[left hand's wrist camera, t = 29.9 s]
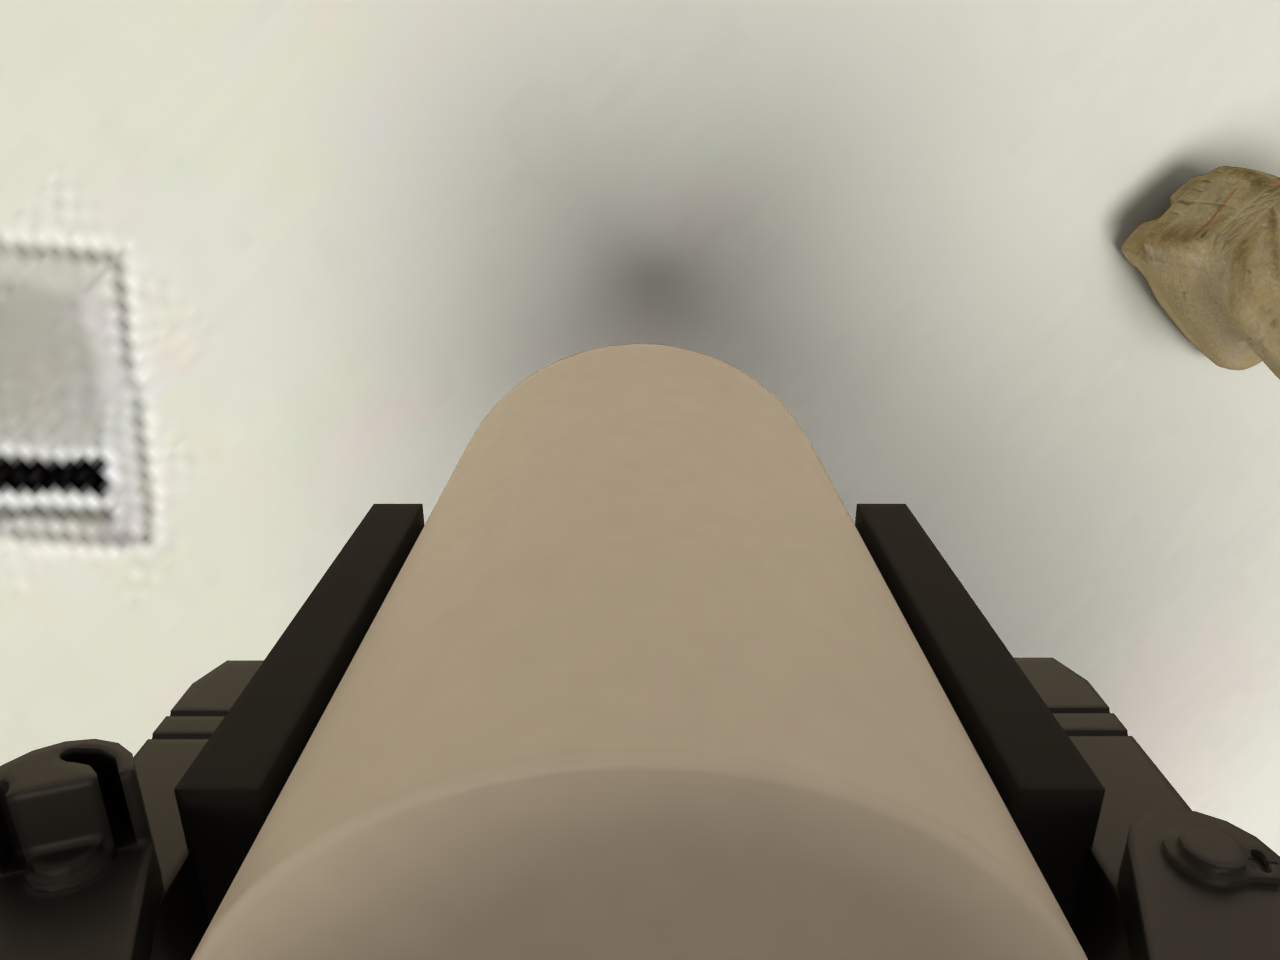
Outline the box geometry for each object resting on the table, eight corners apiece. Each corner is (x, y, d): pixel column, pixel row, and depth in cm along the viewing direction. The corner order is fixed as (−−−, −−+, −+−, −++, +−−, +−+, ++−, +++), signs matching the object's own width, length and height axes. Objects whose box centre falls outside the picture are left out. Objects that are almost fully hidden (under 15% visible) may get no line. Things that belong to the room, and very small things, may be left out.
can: (892, 426, 16) (1331, 947, 6) (736, 728, 18) (855, 1478, 8) (522, 282, 15) (281, 603, 5) (407, 620, 17) (82, 1309, 7)
